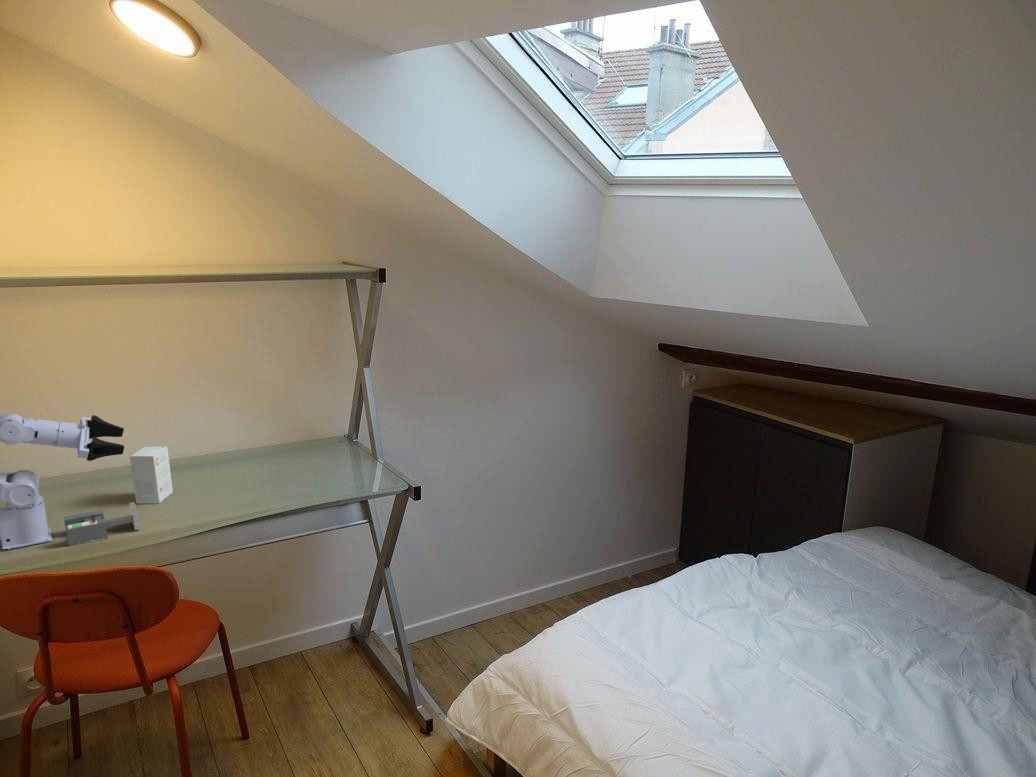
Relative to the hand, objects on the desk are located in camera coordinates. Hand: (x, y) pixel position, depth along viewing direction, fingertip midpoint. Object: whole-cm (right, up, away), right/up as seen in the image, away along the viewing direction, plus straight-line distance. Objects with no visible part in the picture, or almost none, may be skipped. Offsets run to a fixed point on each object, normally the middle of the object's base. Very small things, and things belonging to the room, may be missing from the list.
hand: (123, 441), depth 185 cm
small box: (-2, -17, +20) cm, 26 cm away
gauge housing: (-7, -22, -4) cm, 23 cm away
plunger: (-2, -21, -1) cm, 21 cm away
